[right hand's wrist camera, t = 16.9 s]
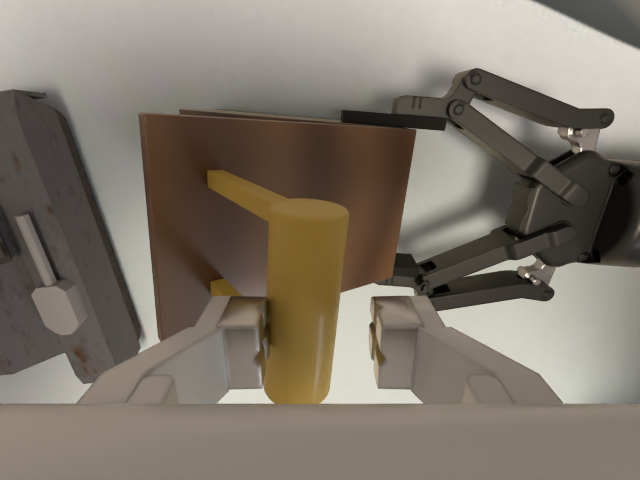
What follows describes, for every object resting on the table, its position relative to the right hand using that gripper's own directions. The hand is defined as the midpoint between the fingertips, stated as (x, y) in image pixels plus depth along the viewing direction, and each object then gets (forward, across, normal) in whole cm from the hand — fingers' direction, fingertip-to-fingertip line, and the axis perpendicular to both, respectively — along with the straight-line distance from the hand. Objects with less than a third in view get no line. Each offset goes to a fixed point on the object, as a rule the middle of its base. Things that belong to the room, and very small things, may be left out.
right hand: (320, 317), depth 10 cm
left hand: (+16, -1, 0) cm, 16 cm away
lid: (+9, +1, 0) cm, 9 cm away
